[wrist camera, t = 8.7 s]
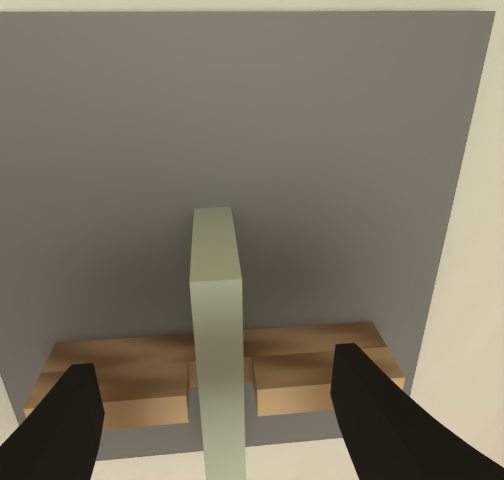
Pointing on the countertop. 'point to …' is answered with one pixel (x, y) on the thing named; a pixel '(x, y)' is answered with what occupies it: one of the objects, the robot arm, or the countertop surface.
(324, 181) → the board
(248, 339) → the oak slotted plate
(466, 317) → the countertop surface
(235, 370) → the sage notched plate
